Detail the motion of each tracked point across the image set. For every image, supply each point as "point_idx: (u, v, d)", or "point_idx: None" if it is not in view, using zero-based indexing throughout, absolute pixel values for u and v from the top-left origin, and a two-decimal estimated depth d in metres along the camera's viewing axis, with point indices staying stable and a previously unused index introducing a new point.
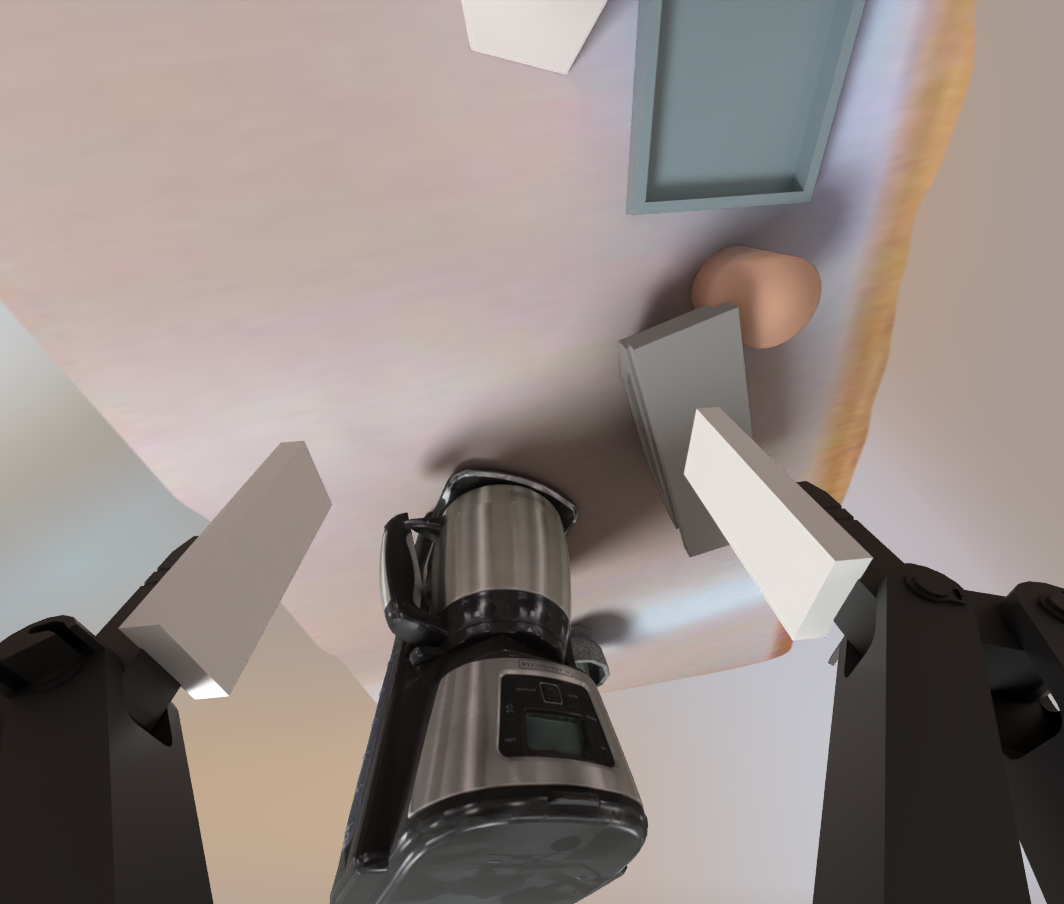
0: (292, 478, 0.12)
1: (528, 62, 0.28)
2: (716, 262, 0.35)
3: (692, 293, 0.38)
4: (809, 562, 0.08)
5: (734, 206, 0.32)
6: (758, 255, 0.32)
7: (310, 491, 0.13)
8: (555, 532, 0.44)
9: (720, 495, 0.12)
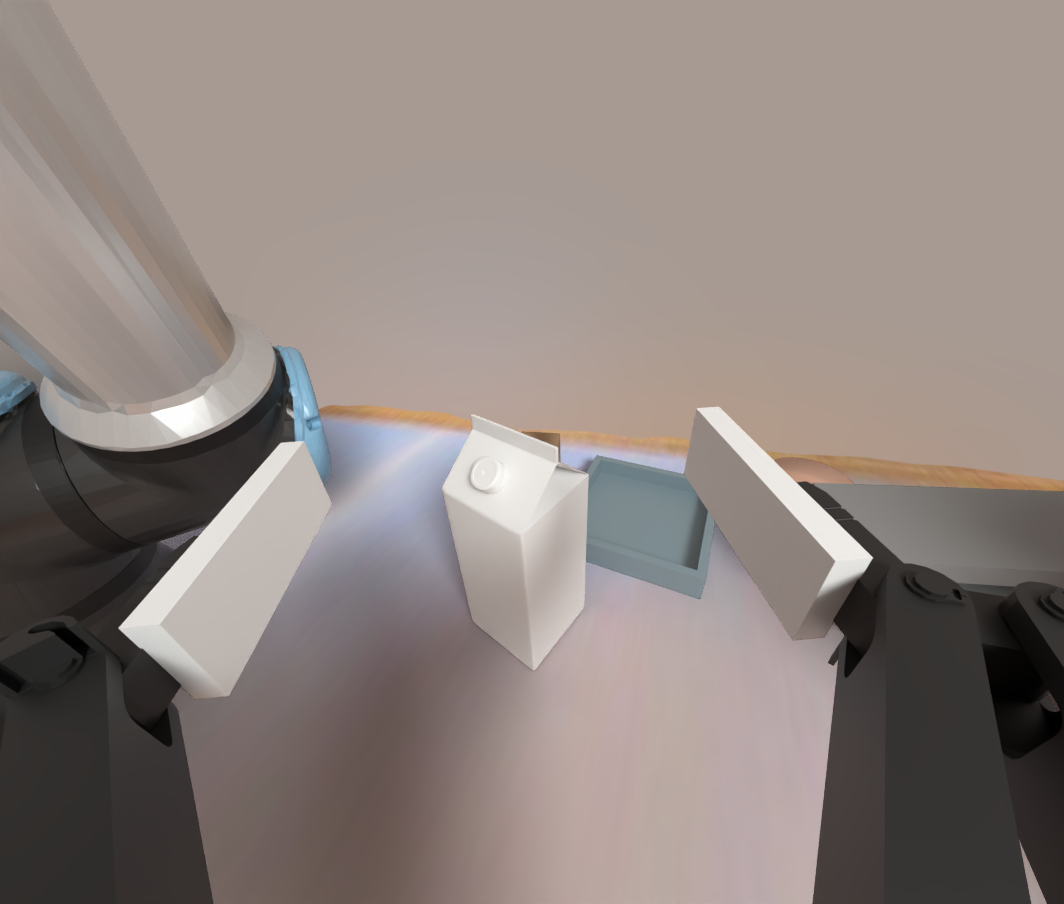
0: (292, 478, 0.12)
1: (565, 626, 0.33)
2: None
3: None
4: (809, 562, 0.08)
5: None
6: None
7: (310, 491, 0.13)
8: None
9: (720, 495, 0.12)
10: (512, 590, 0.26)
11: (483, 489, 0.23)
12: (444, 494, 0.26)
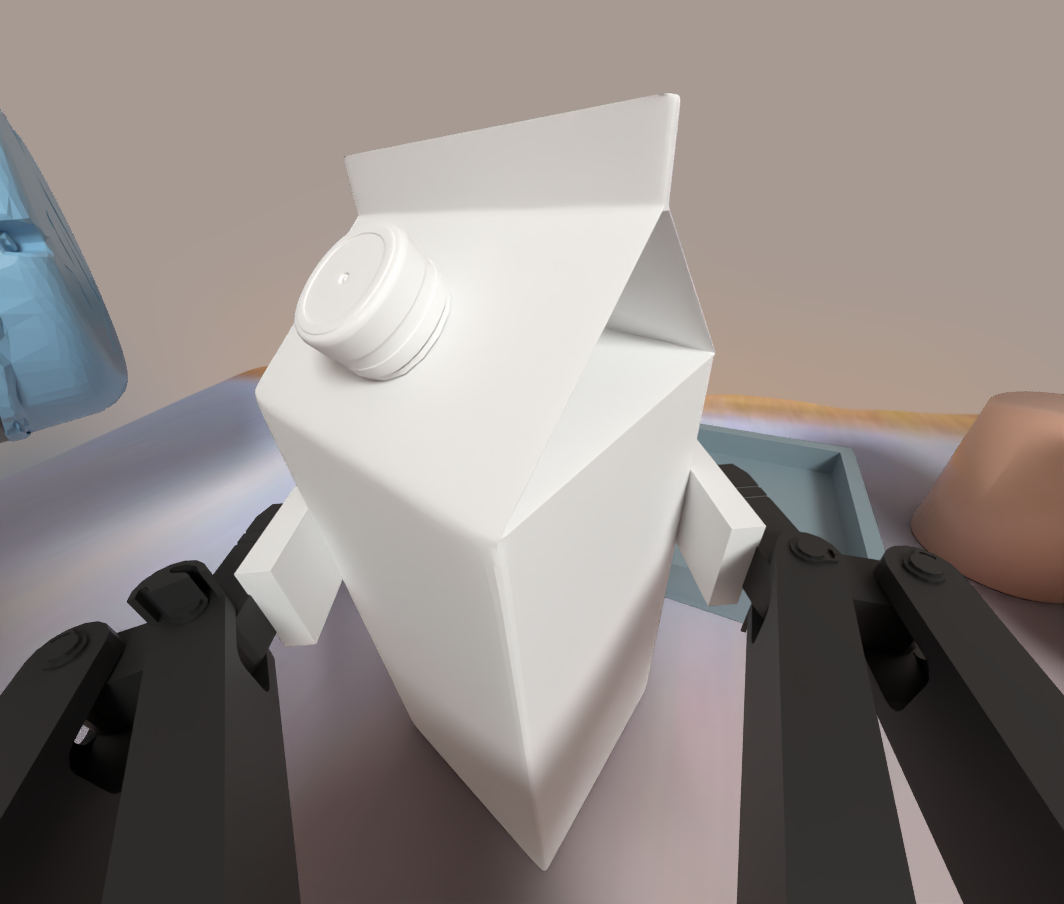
0: None
1: (612, 744, 0.15)
2: (965, 540, 0.20)
3: (1031, 595, 0.19)
4: (716, 532, 0.09)
5: (869, 506, 0.22)
6: (972, 462, 0.20)
7: None
8: None
9: None
10: (478, 716, 0.08)
11: (330, 340, 0.05)
12: (262, 412, 0.08)
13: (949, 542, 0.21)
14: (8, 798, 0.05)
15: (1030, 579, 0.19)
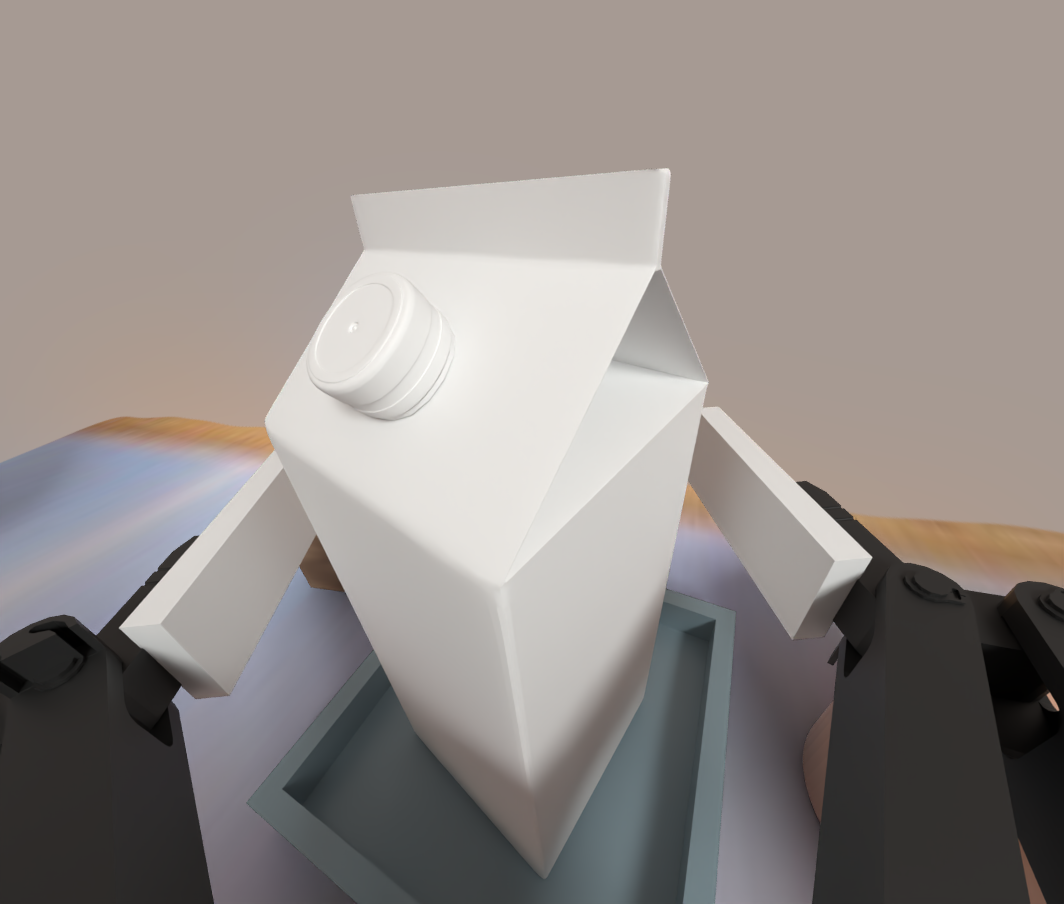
0: None
1: (611, 753, 0.15)
2: None
3: None
4: (809, 562, 0.08)
5: (722, 757, 0.14)
6: None
7: None
8: None
9: (720, 495, 0.12)
10: (480, 734, 0.09)
11: (341, 389, 0.06)
12: (271, 441, 0.09)
13: None
14: None
15: None
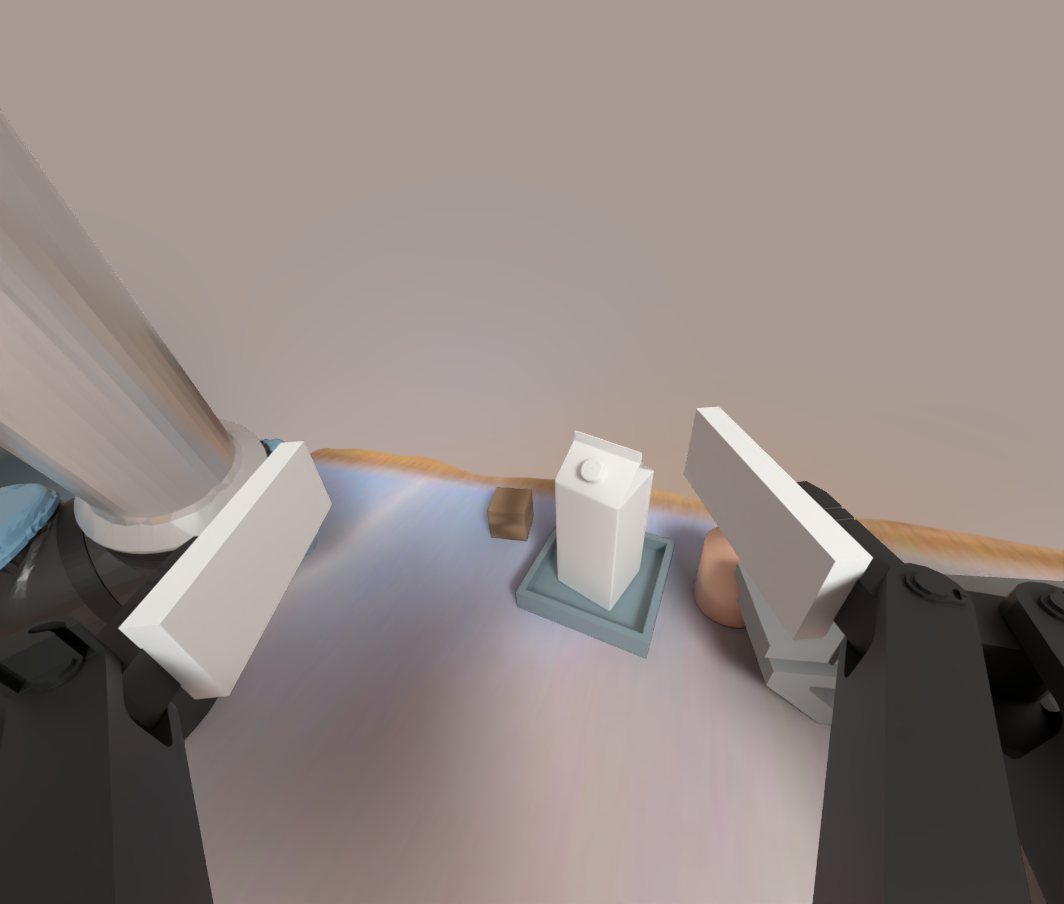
0: (292, 478, 0.12)
1: (628, 582, 0.45)
2: (699, 593, 0.43)
3: (721, 622, 0.42)
4: (809, 562, 0.08)
5: (664, 579, 0.44)
6: None
7: (310, 491, 0.13)
8: None
9: (720, 495, 0.12)
10: (602, 549, 0.39)
11: (591, 480, 0.36)
12: (556, 484, 0.39)
13: (696, 593, 0.44)
14: None
15: (718, 614, 0.42)
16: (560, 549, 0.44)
